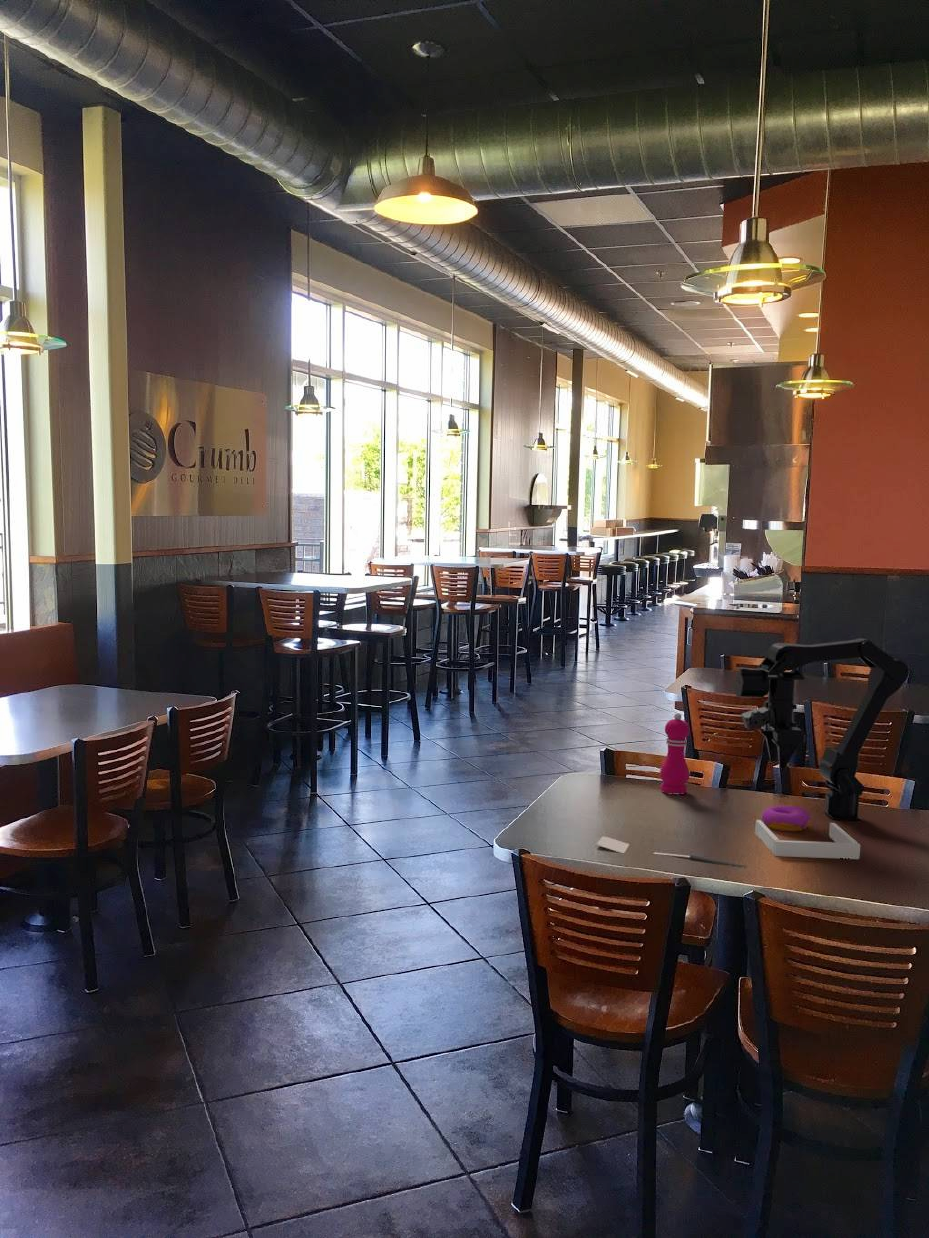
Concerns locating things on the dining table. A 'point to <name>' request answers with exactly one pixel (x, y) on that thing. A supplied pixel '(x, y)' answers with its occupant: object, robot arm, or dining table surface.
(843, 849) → the tray
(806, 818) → the donut
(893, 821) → the dining table surface
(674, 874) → the dining table surface
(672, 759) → the pepper mill
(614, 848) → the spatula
